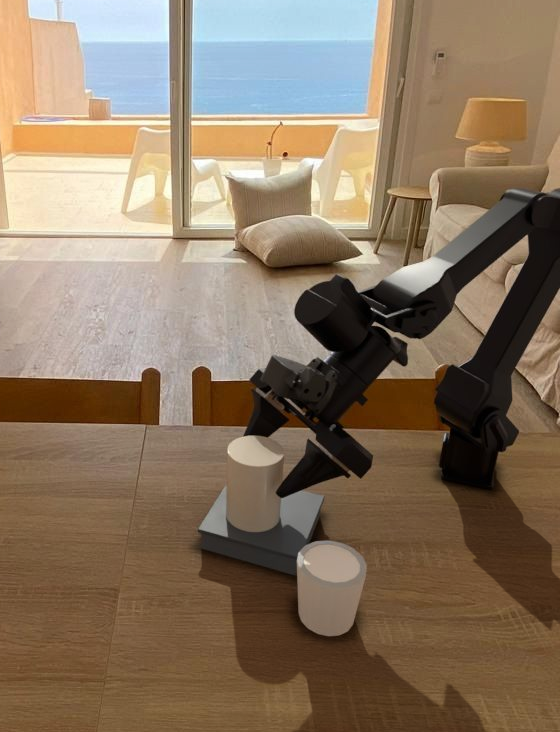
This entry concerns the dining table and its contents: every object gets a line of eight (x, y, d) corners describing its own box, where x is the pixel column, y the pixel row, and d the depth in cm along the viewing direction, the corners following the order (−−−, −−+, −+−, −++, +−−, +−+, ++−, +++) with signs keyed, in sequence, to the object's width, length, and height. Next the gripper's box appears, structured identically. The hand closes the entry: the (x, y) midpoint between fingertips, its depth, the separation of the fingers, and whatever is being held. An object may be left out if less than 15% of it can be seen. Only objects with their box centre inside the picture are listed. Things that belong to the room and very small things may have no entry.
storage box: (322, 515, 87) (324, 495, 85) (298, 578, 77) (299, 557, 75) (232, 492, 91) (232, 473, 90) (197, 549, 81) (197, 529, 80)
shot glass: (355, 592, 75) (361, 541, 72) (364, 643, 68) (372, 589, 66) (290, 588, 75) (294, 537, 72) (294, 638, 69) (298, 584, 66)
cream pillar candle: (286, 505, 84) (290, 442, 80) (271, 538, 78) (275, 471, 75) (236, 493, 86) (238, 430, 82) (217, 523, 81) (219, 458, 77)
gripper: (267, 304, 83) (181, 403, 83) (361, 368, 67) (254, 488, 68) (318, 354, 89) (237, 445, 89) (415, 422, 73) (317, 532, 74)
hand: (258, 473), depth 80 cm, fingers open, 9 cm apart
